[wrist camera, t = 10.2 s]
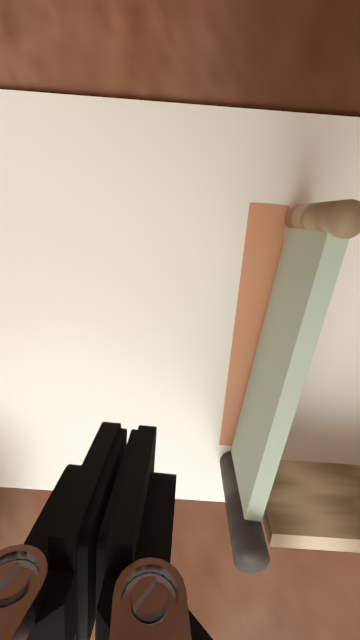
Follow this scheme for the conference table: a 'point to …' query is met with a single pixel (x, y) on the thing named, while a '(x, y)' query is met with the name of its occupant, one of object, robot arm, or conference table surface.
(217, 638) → the conference table surface
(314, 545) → the fixed fence section
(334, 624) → the conference table surface
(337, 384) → the card
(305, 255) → the folding fence panel
